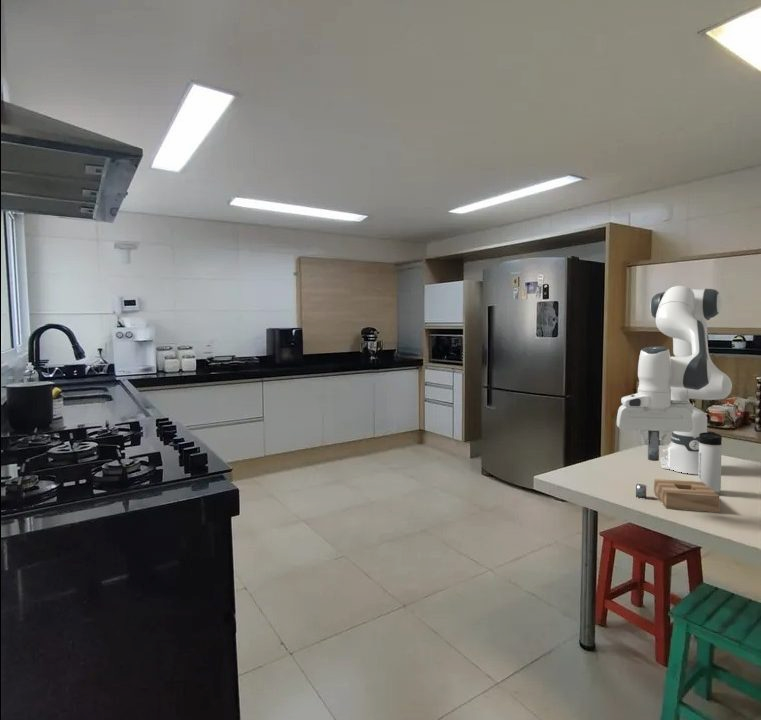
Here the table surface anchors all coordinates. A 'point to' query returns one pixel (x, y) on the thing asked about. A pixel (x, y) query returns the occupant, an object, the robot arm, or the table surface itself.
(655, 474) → the table surface
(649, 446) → the tall pin
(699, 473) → the travel mug
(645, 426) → the robot arm
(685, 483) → the hole block
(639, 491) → the short pin
